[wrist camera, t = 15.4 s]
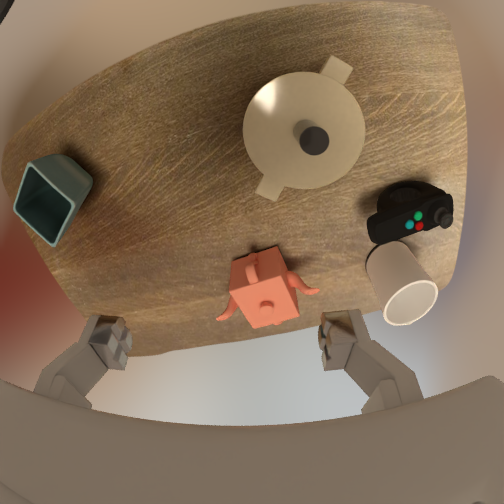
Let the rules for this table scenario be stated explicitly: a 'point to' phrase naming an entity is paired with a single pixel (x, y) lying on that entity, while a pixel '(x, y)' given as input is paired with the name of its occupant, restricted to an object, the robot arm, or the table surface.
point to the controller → (409, 211)
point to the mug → (400, 283)
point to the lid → (303, 130)
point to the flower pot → (51, 195)
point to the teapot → (264, 289)
